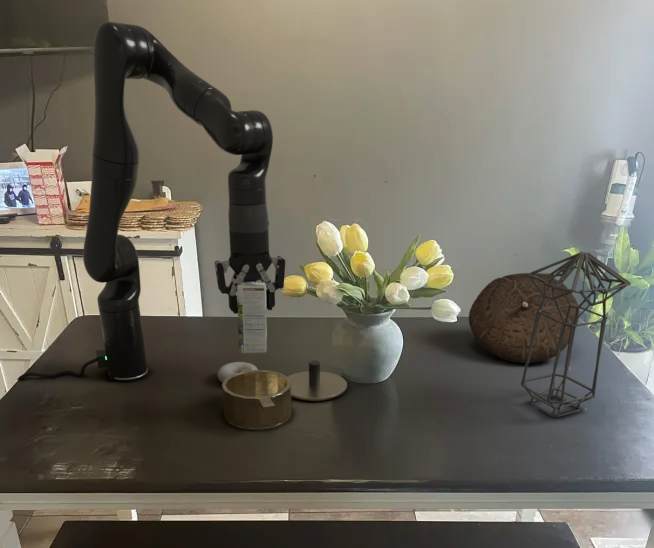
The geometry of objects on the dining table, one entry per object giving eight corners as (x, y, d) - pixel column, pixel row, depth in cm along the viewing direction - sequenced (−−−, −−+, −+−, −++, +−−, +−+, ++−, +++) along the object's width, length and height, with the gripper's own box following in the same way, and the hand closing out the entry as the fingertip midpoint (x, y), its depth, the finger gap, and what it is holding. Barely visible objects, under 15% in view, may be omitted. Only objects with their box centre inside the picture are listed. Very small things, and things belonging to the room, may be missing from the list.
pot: (235, 440, 138) (233, 408, 135) (216, 400, 155) (214, 369, 151) (303, 430, 143) (303, 398, 139) (277, 391, 159) (277, 362, 156)
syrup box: (239, 343, 143) (236, 276, 136) (267, 343, 144) (265, 276, 137) (239, 354, 138) (235, 284, 131) (268, 353, 139) (266, 284, 132)
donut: (212, 387, 161) (252, 390, 159) (211, 374, 159) (251, 377, 158) (226, 371, 170) (264, 374, 168) (225, 358, 168) (263, 361, 166)
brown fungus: (467, 370, 174) (457, 273, 172) (480, 369, 195) (471, 283, 194) (583, 355, 163) (573, 252, 162) (583, 357, 185) (575, 266, 183)
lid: (292, 407, 152) (292, 379, 149) (273, 379, 165) (273, 354, 162) (356, 397, 157) (357, 371, 154) (333, 372, 170) (334, 347, 166)
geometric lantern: (550, 428, 145) (582, 265, 128) (504, 399, 157) (527, 247, 140) (605, 414, 151) (643, 257, 134) (556, 387, 163) (585, 240, 146)
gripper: (279, 220, 134) (281, 302, 142) (207, 224, 130) (213, 308, 138) (290, 228, 128) (291, 313, 136) (215, 233, 124) (220, 320, 132)
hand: (252, 310), depth 137 cm, fingers closed on syrup box, 6 cm apart
